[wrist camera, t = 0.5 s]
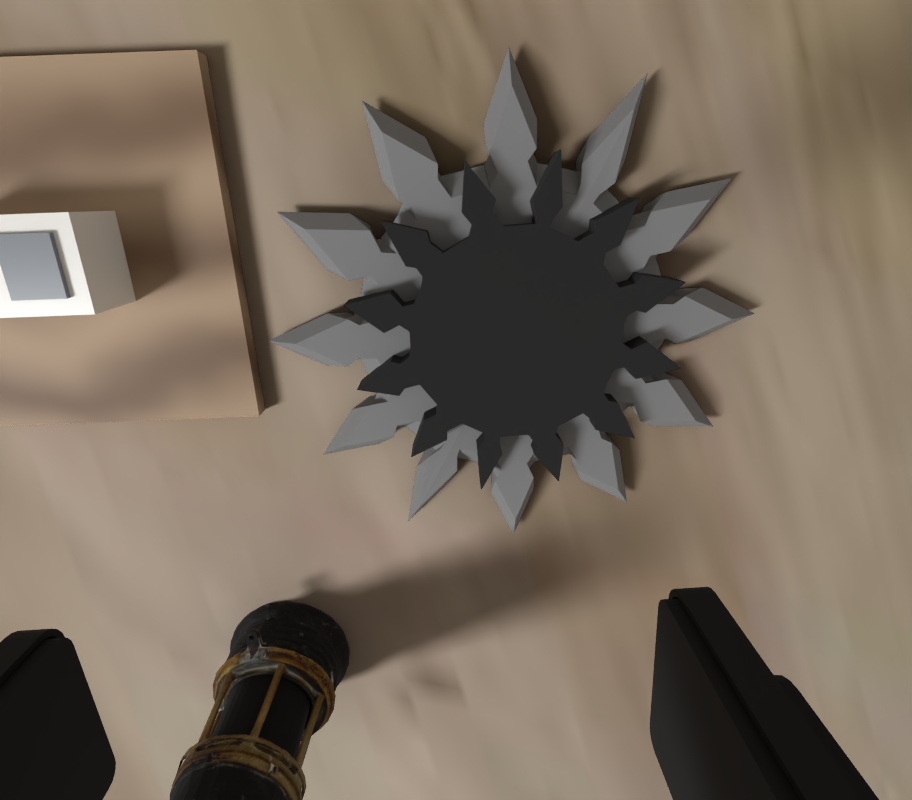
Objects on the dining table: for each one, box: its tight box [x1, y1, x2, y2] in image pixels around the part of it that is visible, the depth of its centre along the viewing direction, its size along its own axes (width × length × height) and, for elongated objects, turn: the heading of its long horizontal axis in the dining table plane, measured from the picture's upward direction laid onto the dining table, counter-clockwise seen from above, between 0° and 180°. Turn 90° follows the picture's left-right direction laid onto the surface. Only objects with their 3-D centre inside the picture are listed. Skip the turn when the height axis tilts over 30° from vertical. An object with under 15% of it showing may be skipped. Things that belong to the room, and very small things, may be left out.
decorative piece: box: [269, 47, 755, 534], centre depth 33 cm, size 30×4×30 cm
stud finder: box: [0, 211, 136, 318], centre depth 29 cm, size 5×8×4 cm, turn 92°
